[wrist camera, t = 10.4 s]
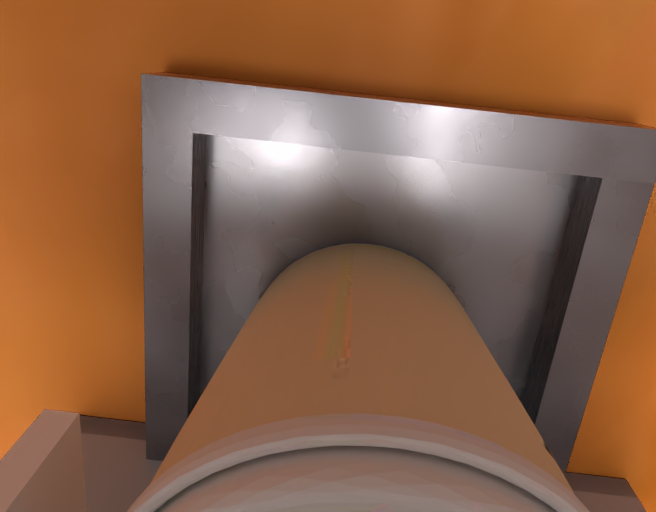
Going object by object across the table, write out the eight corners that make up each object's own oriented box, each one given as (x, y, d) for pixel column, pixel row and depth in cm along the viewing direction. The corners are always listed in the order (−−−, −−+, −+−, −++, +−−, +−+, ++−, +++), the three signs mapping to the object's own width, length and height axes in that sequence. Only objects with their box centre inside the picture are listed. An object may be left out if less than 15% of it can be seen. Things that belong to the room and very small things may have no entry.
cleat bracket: (164, 72, 18) (141, 73, 16) (636, 123, 17) (670, 131, 15) (164, 425, 22) (146, 459, 20) (537, 468, 22) (554, 507, 20)
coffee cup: (417, 480, 22) (482, 931, 11) (196, 396, 21) (9, 785, 10) (538, 281, 19) (811, 616, 7) (284, 173, 18) (161, 366, 7)
